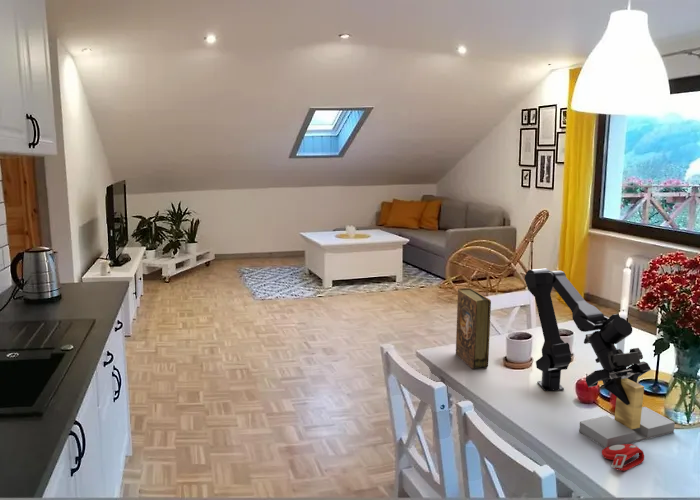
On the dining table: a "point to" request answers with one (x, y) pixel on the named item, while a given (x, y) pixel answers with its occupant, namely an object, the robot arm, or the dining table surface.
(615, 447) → the tracker holder
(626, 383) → the ochre block
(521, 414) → the dining table surface
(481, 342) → the book
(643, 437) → the slotted board
